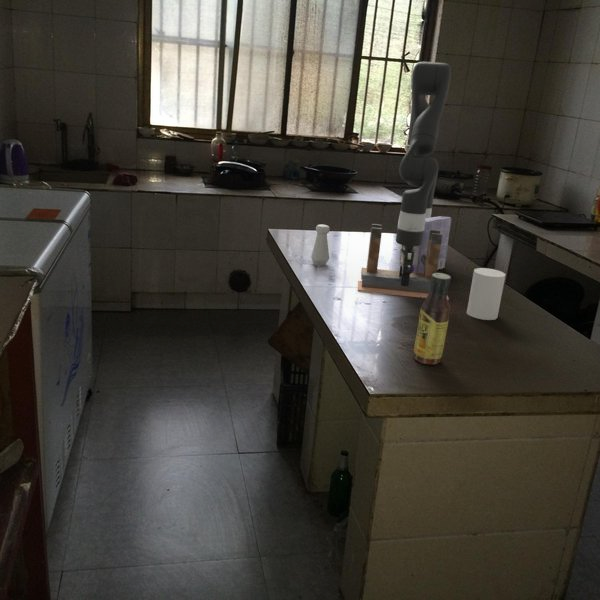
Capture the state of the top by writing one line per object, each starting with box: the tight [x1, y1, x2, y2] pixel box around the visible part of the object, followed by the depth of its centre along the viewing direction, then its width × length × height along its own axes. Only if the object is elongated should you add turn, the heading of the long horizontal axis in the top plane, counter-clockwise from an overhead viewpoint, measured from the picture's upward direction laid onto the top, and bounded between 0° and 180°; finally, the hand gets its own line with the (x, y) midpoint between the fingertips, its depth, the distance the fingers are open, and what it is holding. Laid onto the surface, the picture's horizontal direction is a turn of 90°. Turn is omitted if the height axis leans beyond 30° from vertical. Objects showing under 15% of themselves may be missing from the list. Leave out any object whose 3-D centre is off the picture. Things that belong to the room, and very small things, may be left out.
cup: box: [466, 267, 506, 321], centre depth 175 cm, size 8×8×12 cm
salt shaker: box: [310, 224, 331, 267], centre depth 210 cm, size 6×6×13 cm
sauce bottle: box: [413, 272, 452, 366], centre depth 140 cm, size 6×6×20 cm
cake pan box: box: [408, 215, 452, 274], centre depth 212 cm, size 19×5×18 cm, turn 139°
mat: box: [357, 280, 450, 301], centre depth 191 cm, size 26×9×1 cm, turn 85°
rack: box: [360, 223, 442, 280], centre depth 200 cm, size 24×8×16 cm, turn 85°
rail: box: [361, 272, 431, 294], centre depth 190 cm, size 24×3×4 cm, turn 85°
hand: (403, 281), depth 190 cm, fingers open, 8 cm apart
